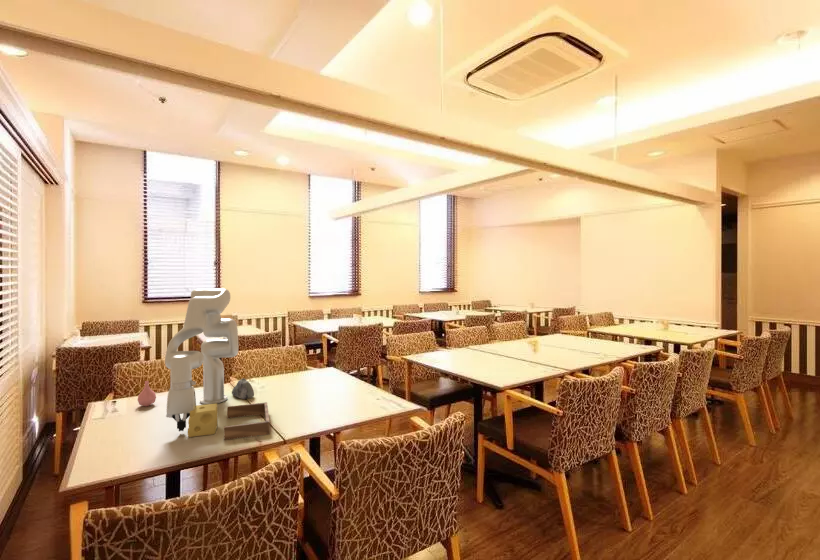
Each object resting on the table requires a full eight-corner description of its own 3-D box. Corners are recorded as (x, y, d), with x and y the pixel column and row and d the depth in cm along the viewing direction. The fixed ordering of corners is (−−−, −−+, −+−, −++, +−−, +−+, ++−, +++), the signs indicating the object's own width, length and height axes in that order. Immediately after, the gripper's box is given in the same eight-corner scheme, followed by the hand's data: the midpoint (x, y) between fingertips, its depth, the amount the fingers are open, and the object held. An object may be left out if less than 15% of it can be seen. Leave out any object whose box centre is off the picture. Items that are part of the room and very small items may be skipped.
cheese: (187, 438, 161) (187, 413, 161) (191, 428, 171) (191, 404, 171) (216, 434, 165) (216, 410, 164) (218, 425, 175) (218, 402, 174)
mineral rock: (231, 394, 218) (231, 375, 218) (252, 391, 223) (252, 373, 223) (232, 401, 207) (232, 381, 206) (254, 398, 211) (254, 379, 211)
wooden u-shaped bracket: (227, 417, 184) (227, 406, 183) (267, 412, 190) (267, 402, 190) (224, 440, 159) (223, 427, 159) (269, 434, 165) (269, 421, 165)
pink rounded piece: (149, 408, 195) (149, 383, 195) (133, 408, 196) (133, 383, 195) (159, 403, 203) (159, 379, 203) (144, 403, 203) (144, 379, 203)
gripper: (202, 381, 171) (203, 424, 171) (162, 384, 166) (162, 429, 166) (200, 385, 164) (200, 430, 164) (158, 389, 159) (158, 436, 159)
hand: (181, 429), depth 165 cm, fingers closed
